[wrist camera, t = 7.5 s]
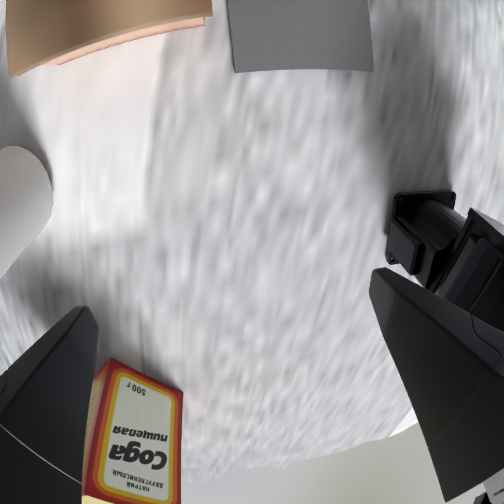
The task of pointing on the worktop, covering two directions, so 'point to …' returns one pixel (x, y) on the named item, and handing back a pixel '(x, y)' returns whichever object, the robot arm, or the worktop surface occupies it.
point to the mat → (300, 34)
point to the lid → (83, 24)
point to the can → (21, 202)
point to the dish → (127, 39)
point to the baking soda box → (132, 439)
